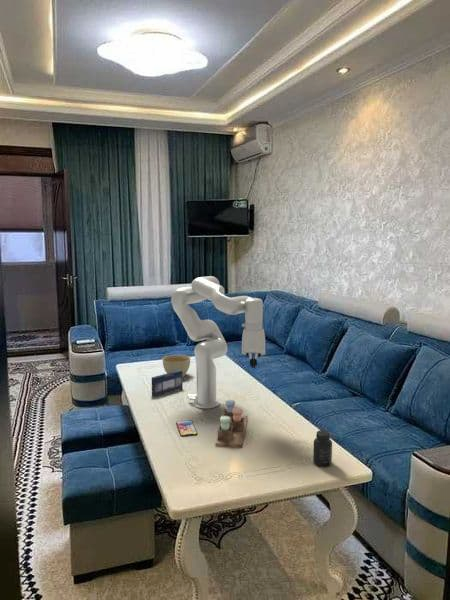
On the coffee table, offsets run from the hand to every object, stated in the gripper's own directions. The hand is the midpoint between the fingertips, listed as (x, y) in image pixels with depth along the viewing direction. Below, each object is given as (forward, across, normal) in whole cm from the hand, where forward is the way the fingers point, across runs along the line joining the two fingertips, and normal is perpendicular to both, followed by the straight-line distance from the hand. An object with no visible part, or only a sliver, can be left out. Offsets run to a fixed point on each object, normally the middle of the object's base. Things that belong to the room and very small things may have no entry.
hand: (253, 367), depth 212 cm
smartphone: (+26, -28, -12) cm, 40 cm away
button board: (+25, -8, -12) cm, 29 cm away
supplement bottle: (+25, +28, -36) cm, 52 cm away
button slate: (+22, -10, -3) cm, 24 cm away
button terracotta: (+22, -6, -12) cm, 25 cm away
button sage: (+22, -10, -21) cm, 32 cm away
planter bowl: (+25, -47, +58) cm, 78 cm away
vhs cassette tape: (+25, -46, +32) cm, 61 cm away
